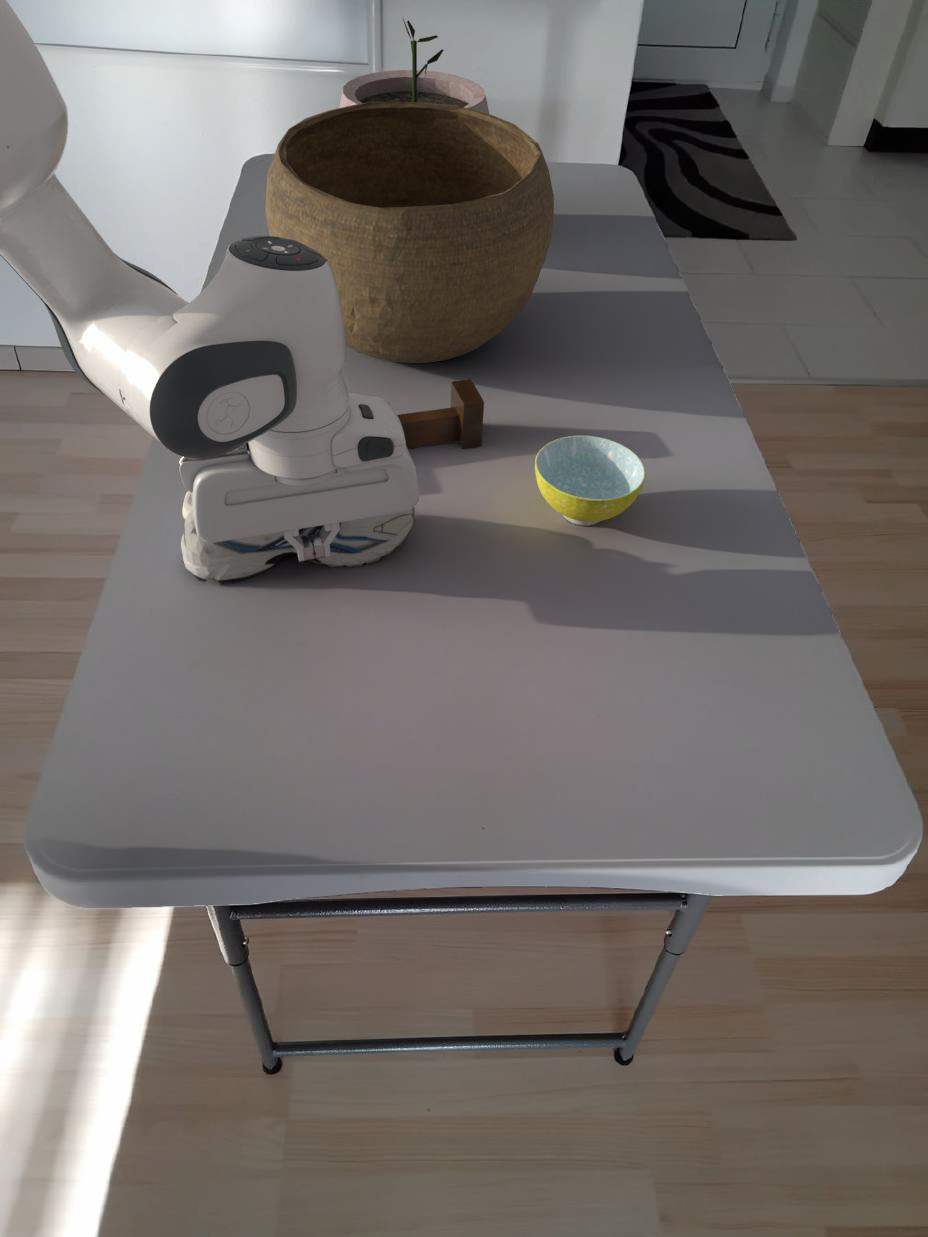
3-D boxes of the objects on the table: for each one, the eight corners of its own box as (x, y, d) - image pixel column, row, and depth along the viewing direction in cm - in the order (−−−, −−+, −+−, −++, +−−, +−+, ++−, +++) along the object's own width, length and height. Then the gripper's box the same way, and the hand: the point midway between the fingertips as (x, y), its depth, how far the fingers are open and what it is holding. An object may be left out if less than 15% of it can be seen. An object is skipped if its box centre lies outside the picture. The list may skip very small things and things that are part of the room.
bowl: (609, 473, 104) (617, 427, 100) (653, 537, 97) (664, 489, 92) (515, 489, 102) (519, 442, 97) (553, 555, 94) (559, 508, 90)
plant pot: (484, 270, 140) (495, 44, 119) (328, 260, 141) (311, 34, 119) (492, 208, 157) (504, 1, 136) (353, 199, 158) (342, -8, 136)
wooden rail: (216, 485, 100) (207, 439, 96) (211, 459, 104) (202, 413, 99) (481, 446, 107) (484, 401, 103) (468, 423, 111) (470, 378, 106)
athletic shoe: (428, 551, 93) (415, 441, 87) (202, 616, 86) (169, 500, 80) (393, 514, 101) (379, 410, 95) (184, 570, 94) (153, 462, 88)
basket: (530, 280, 139) (557, 102, 120) (534, 423, 116) (569, 231, 97) (295, 256, 137) (286, 72, 119) (252, 396, 114) (232, 196, 95)
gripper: (176, 471, 74) (205, 596, 84) (423, 436, 78) (423, 558, 88) (170, 428, 78) (199, 551, 88) (405, 397, 82) (408, 518, 92)
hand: (313, 555), depth 88 cm, fingers closed, pressing on athletic shoe
